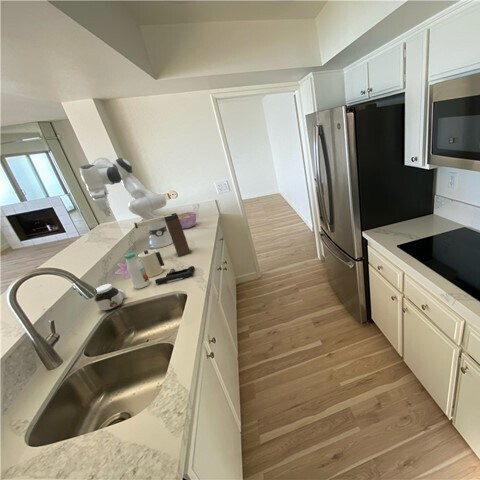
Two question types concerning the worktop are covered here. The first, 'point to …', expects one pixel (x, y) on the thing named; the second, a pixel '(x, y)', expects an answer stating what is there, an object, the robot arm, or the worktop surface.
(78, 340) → the worktop surface
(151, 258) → the kettle
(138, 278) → the milk bottle
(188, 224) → the bowl of food
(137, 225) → the switch bar
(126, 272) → the lily
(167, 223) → the stand
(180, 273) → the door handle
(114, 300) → the spread jar
